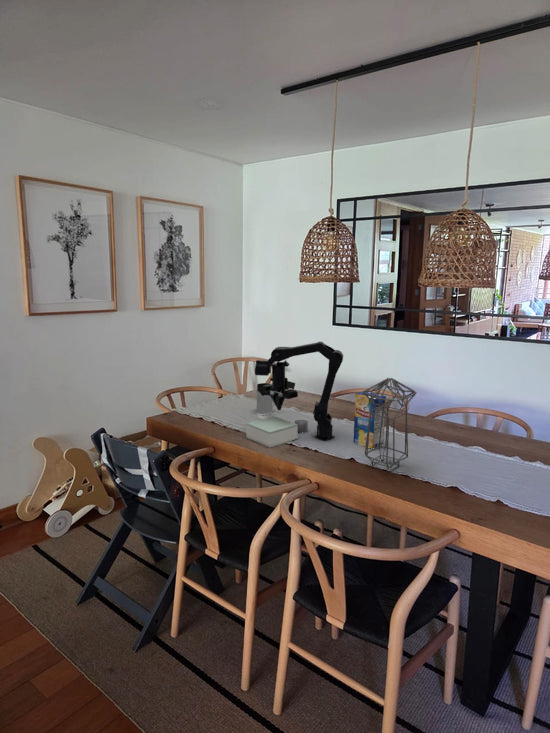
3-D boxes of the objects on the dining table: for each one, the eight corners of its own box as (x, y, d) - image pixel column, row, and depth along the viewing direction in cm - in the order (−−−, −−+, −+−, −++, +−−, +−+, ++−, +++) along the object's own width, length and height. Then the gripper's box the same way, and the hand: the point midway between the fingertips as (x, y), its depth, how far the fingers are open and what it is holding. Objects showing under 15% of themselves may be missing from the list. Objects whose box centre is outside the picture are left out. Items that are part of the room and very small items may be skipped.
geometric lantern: (414, 466, 184) (420, 378, 176) (391, 479, 173) (396, 386, 165) (379, 454, 195) (383, 370, 187) (355, 466, 184) (359, 377, 176)
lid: (297, 426, 211) (297, 424, 210) (269, 434, 200) (269, 432, 200) (273, 417, 222) (273, 415, 222) (246, 424, 212) (246, 423, 212)
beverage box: (372, 450, 200) (375, 399, 195) (353, 442, 208) (355, 393, 204) (383, 446, 204) (386, 396, 200) (363, 439, 213) (366, 390, 208)
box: (297, 439, 212) (297, 426, 211) (269, 447, 202) (269, 434, 200) (273, 430, 224) (273, 417, 222) (246, 437, 213) (246, 424, 212)
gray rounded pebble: (310, 431, 222) (310, 422, 222) (300, 434, 219) (301, 424, 218) (301, 428, 227) (301, 418, 226) (291, 430, 223) (292, 421, 222)
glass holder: (254, 411, 252) (254, 383, 249) (280, 409, 256) (280, 381, 253) (258, 416, 244) (258, 387, 241) (284, 414, 248) (285, 385, 245)
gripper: (306, 376, 211) (306, 410, 214) (277, 370, 225) (278, 402, 228) (288, 380, 204) (288, 415, 207) (259, 373, 217) (260, 407, 220)
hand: (279, 409), depth 216 cm, fingers closed
